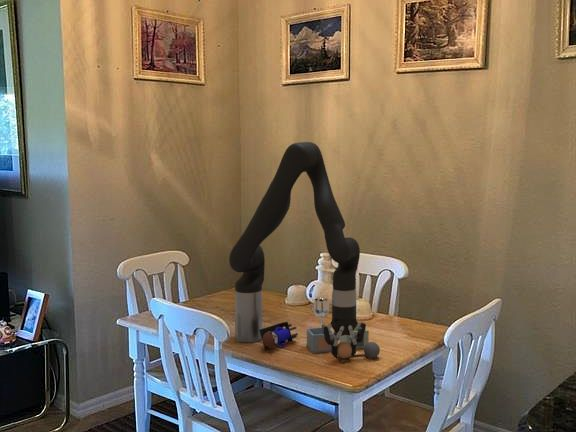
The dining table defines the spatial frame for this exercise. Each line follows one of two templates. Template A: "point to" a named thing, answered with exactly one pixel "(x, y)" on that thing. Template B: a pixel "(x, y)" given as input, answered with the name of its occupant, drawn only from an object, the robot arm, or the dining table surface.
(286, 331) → the character figurine
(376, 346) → the ball charcoal
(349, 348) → the ball terracotta
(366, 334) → the green storage bin
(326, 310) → the wineglass
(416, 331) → the dining table surface
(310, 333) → the grey storage bin
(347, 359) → the dark brown flat frame
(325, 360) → the dining table surface
